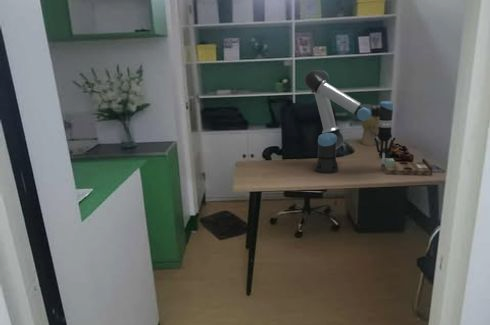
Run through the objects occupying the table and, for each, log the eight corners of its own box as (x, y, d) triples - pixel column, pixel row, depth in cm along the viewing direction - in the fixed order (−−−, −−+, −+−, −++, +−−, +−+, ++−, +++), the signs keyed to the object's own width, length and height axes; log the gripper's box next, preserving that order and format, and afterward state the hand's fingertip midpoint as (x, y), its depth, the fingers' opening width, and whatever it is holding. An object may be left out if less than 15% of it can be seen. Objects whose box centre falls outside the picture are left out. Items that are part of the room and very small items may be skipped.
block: (385, 166, 228) (386, 160, 227) (384, 164, 233) (384, 158, 232) (393, 166, 227) (394, 160, 226) (392, 164, 232) (392, 158, 231)
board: (386, 174, 223) (386, 165, 221) (381, 165, 240) (382, 157, 239) (431, 175, 217) (432, 166, 216) (423, 166, 235) (424, 158, 234)
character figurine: (390, 137, 260) (419, 146, 235) (394, 149, 265) (423, 160, 239) (371, 149, 258) (398, 160, 233) (376, 161, 263) (403, 174, 238)
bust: (384, 146, 290) (387, 109, 282) (361, 146, 294) (363, 109, 286) (381, 141, 307) (384, 106, 299) (360, 141, 311) (361, 106, 303)
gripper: (374, 127, 222) (372, 164, 228) (397, 127, 219) (394, 164, 226) (373, 125, 229) (371, 161, 235) (395, 125, 226) (392, 161, 233)
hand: (382, 163), depth 230 cm, fingers closed
